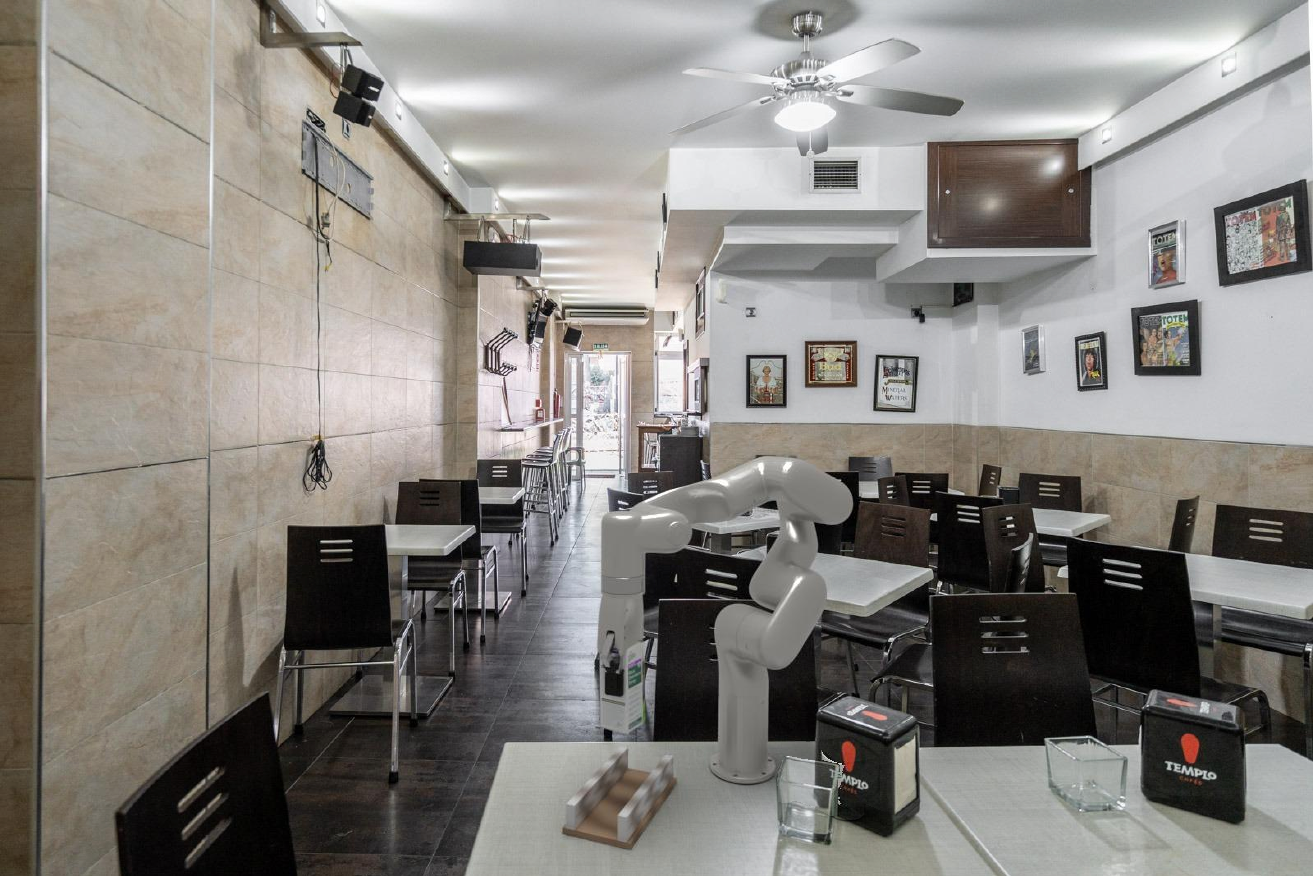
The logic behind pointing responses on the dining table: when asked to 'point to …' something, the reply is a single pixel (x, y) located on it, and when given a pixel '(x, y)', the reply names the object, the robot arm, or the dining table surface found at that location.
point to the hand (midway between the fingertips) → (622, 687)
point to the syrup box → (625, 693)
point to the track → (618, 801)
